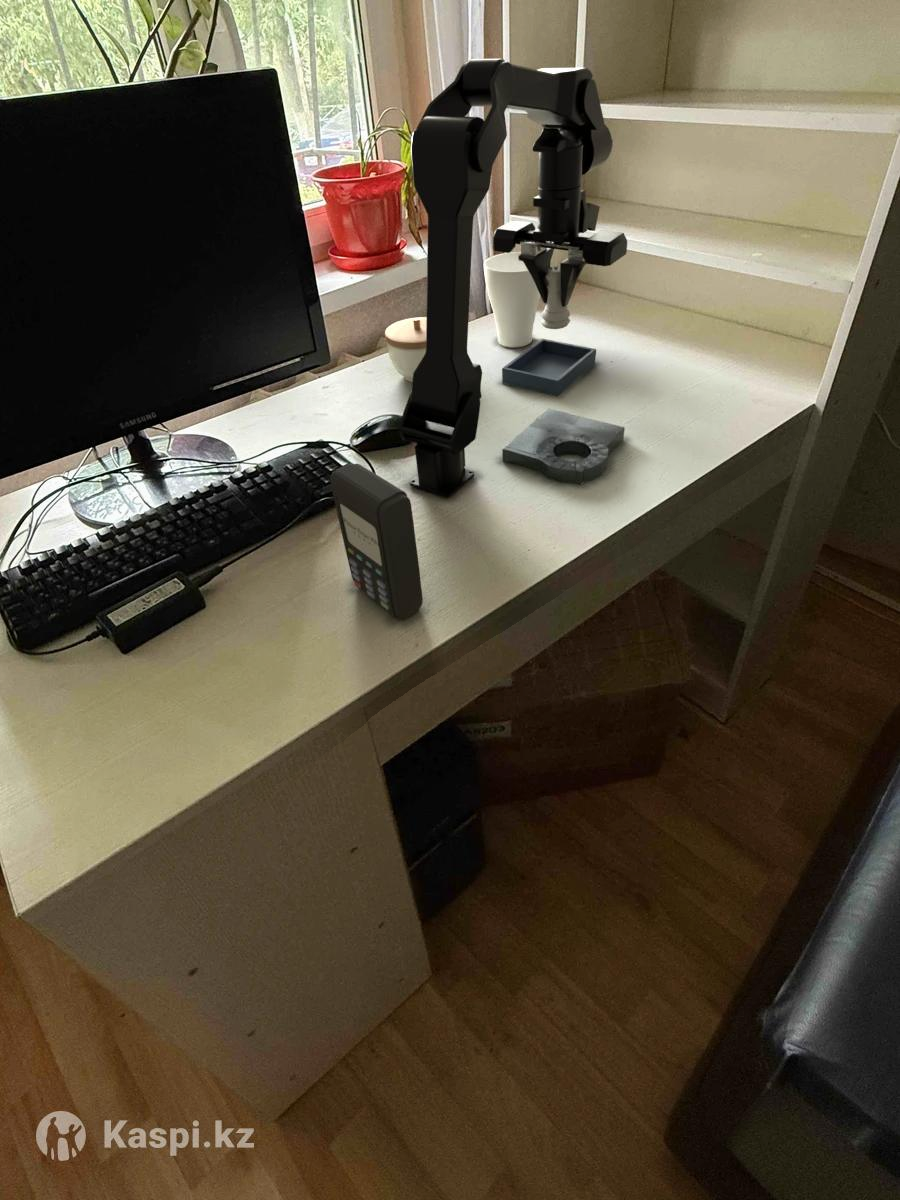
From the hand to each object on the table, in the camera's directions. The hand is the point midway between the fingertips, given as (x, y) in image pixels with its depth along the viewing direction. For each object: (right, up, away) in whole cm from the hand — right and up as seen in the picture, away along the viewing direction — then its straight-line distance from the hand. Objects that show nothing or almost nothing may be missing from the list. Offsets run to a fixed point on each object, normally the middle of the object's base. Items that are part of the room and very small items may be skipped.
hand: (555, 304), depth 102 cm
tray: (+1, -7, +11) cm, 13 cm away
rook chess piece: (0, -2, +2) cm, 3 cm away
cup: (-4, +3, +22) cm, 22 cm away
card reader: (-23, -44, -27) cm, 56 cm away
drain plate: (0, -23, -7) cm, 25 cm away
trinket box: (-21, -6, +14) cm, 26 cm away
